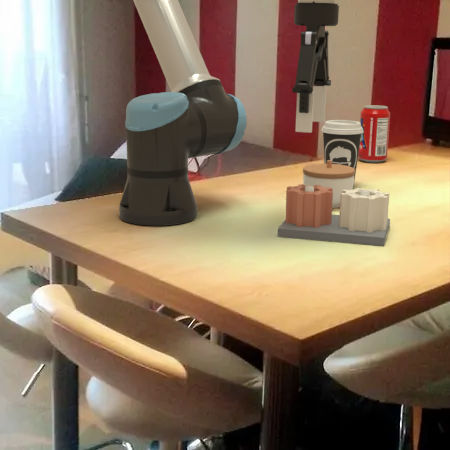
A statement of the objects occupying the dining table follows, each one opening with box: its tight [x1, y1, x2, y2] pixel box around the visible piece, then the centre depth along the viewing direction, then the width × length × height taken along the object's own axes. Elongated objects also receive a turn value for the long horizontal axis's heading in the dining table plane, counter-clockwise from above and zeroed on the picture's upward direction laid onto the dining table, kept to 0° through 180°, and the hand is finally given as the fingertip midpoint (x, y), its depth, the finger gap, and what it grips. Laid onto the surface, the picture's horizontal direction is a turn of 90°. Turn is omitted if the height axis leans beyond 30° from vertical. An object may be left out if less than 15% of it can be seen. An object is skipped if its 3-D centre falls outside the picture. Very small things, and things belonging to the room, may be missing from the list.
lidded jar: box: [302, 160, 356, 209], centre depth 153 cm, size 11×11×9 cm
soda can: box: [358, 104, 391, 164], centre depth 202 cm, size 8×8×15 cm
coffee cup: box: [320, 119, 364, 189], centre depth 169 cm, size 10×10×15 cm
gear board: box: [276, 186, 391, 247], centre depth 134 cm, size 19×13×8 cm
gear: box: [284, 184, 333, 227], centre depth 135 cm, size 8×8×6 cm
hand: (310, 126), depth 131 cm, fingers open, 13 cm apart
